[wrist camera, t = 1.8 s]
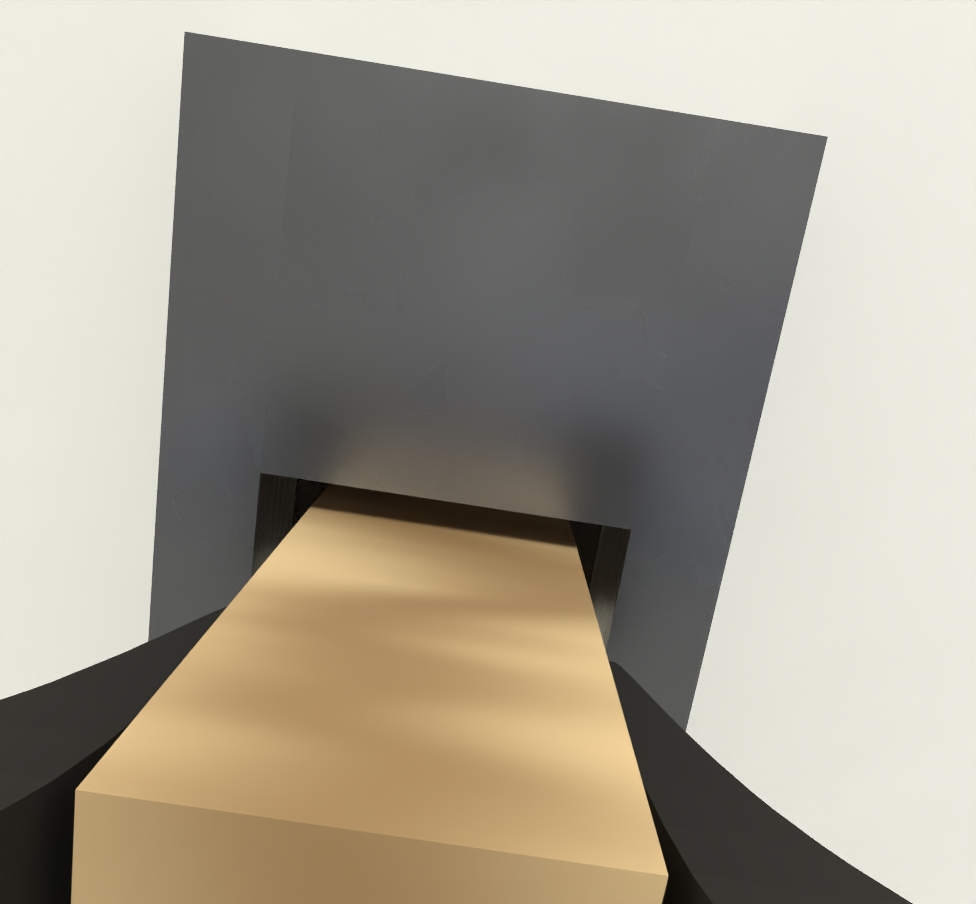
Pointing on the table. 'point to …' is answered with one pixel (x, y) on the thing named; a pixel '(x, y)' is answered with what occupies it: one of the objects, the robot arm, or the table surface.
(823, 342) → the table surface
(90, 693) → the robot arm
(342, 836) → the oak peg
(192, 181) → the rack frame
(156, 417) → the table surface
